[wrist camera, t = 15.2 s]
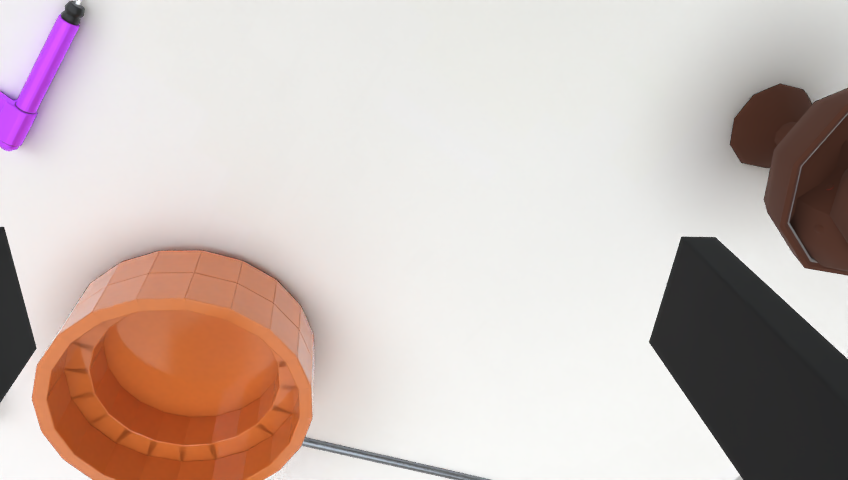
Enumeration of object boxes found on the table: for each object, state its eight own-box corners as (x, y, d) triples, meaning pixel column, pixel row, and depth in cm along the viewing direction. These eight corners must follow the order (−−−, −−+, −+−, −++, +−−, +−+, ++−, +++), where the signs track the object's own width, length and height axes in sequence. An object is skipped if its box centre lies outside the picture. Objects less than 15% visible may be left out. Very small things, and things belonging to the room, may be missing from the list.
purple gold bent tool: (22, 152, 35) (158, -114, 30) (8, 156, 34) (146, -119, 29) (-22, 122, 34) (108, -152, 30) (-38, 126, 33) (95, -158, 28)
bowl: (47, 246, 38) (2, 301, 33) (311, 243, 40) (308, 295, 35) (94, 438, 45) (63, 509, 40) (316, 427, 47) (314, 493, 42)
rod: (299, 433, 48) (299, 440, 47) (514, 482, 54) (517, 489, 53) (296, 439, 48) (296, 446, 47) (511, 487, 54) (512, 494, 53)
